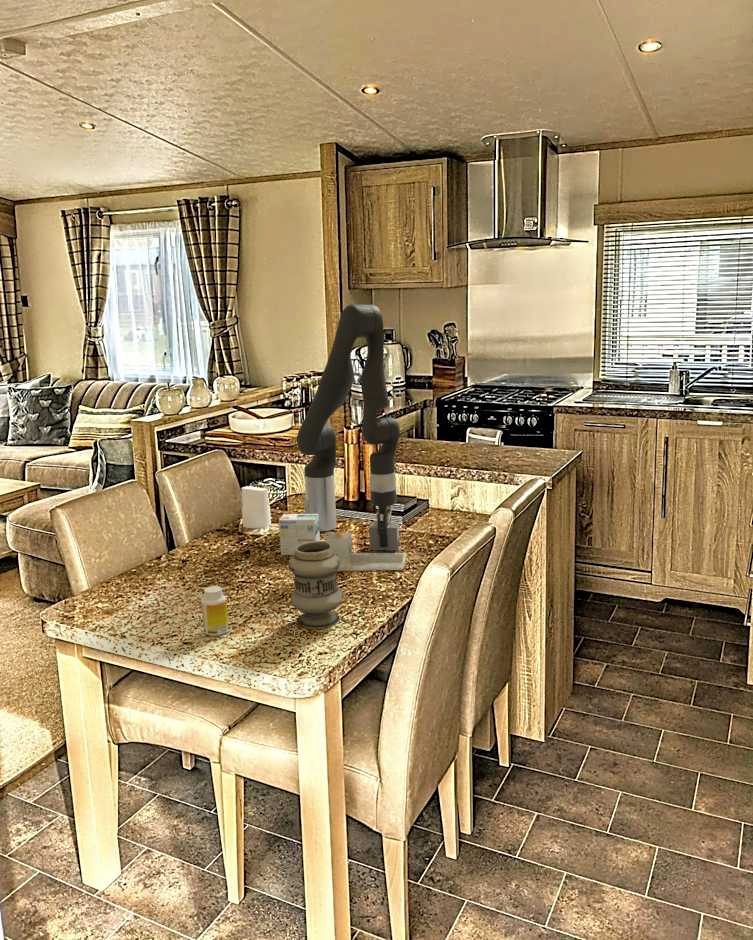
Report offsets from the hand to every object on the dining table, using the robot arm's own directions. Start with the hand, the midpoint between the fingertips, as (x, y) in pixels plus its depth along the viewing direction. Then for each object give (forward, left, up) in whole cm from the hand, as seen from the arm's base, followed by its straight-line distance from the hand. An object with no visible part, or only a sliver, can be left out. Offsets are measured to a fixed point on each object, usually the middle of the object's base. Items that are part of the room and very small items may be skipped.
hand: (385, 542), depth 247 cm
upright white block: (-44, +24, -2) cm, 50 cm away
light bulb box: (-24, -4, -2) cm, 25 cm away
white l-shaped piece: (-4, -14, -2) cm, 15 cm away
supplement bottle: (-32, -61, -2) cm, 69 cm away
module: (0, 0, -2) cm, 2 cm away
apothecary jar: (-10, -54, -2) cm, 55 cm away
